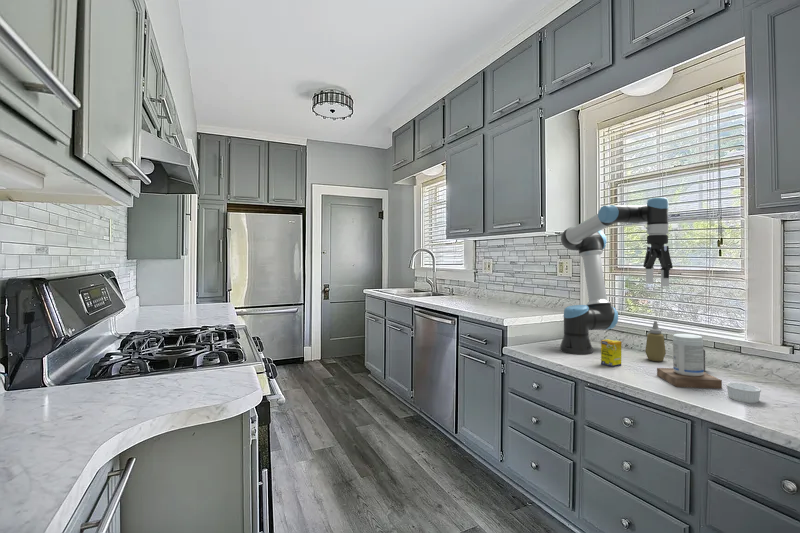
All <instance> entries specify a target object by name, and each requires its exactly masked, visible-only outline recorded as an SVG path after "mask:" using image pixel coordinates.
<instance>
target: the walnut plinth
mask: <svg viewBox="0 0 800 533" xmlns="http://www.w3.org/2000/svg"><path fill="white" fill-rule="evenodd" d="M656 376H657V377H659V378H661V379H663V380H664V381H666V382H668V383H669V384H671V385H672V386H674V387H676V388H691V389H692V388H695V389H719V390H720V389H723V388H722V387H723V380H722V379H719V378H717V377H715V376H713V375H711V374H709V373H708V372H705V371H704V374H703V375H702V376H696V377H695V376H685V375H680V374H677V373H676V372H674V370H673V367H672V368H671V367H669V368H668V367H657V368H656Z"/></svg>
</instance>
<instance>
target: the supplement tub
mask: <svg viewBox="0 0 800 533" xmlns="http://www.w3.org/2000/svg"><path fill="white" fill-rule="evenodd" d="M703 349H704V340H703V336H702V335H698V334H693V333H674V334H673V335H672V362H673V363H672V366H673V367H672V368H673V370H674V372H676V373H677V374H680V375H685V376H695V377H696V376H702V375H703V374H704V372H705V371H704V353H703Z"/></svg>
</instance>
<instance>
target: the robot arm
mask: <svg viewBox="0 0 800 533" xmlns="http://www.w3.org/2000/svg"><path fill="white" fill-rule="evenodd" d="M669 207H670V206H669V200H668V198H667V197H663V196H662V197H661V196H660V197H651V198H648V199H647V200H646V204H642V205H613V204H611V205H610V204H608V205H603V206H601V207H600V208H599V209H598V213H596V214H594V215H593V216H591V217H589V218H588V219H586V220H583V222H581V223H579V224H577V225H576V226H570V227H568V228H566V229H565V230H564V231H562V233H561V236H560V242H561V244H562V246H563V247H564V248H565V249H567V250H570V251H578V255H579V256H580V257H582V263H583V269H584V275H585V281H586V283H585V284H586V289H587V290H586V291H587V295H588V296H587V297H588V302H587V304H574V305H569V306H567V307H565V308H564V310H563V315H562V316H563V337H562V340H561V343H560V348H559V350H560V351H561V352H564V353H566V354H573V355H588V354H592V353H593V346H592V343H591V340H590V337H589V332H590V331H606V330H612V329H613V328H615V327H616V326H617V324H618V321H619V313H618V310H617V309H616V308H615V307H614V306H612V303H611V302H610V301H609V300H608V297H607V296H608V295H607V291H606V283H605V277H604V271H603V265H602V263H603V262H602V256H601V255H602V254H603V253H604V252H603V251H604V249H605V248H606V245H607V237H606V235H605V233H604V232H603V231H602V230H604V229H606V228H608V227H610V226H613V225H615V224H616V223H617V224H619V223H622V224H624V223H629V224H639V223H646V227H645V229H646V231H647V232H646V234H647V236H646V244H647V247H646V253H645V257H644V261H643V268H645V284H646V285H648V284H650V285H651V284H653V285H654V272H655V270H654V269H655V268H654V264H655V262H656V261H657V259H658V262H659V265H660V286H661V287H670V270H672V269H673V263H672V258H671V254H670V250H669V249H670V248H669V245H667V244H668V243H669V235H667V234H669ZM648 245H650V246H648Z"/></svg>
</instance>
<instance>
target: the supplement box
mask: <svg viewBox="0 0 800 533" xmlns="http://www.w3.org/2000/svg"><path fill="white" fill-rule="evenodd" d="M600 364H601V365H604V366H608V367H612V368H615V367H620V366H622V341H620V340H615V339H612V338H607V339H602V340H601V343H600Z"/></svg>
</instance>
